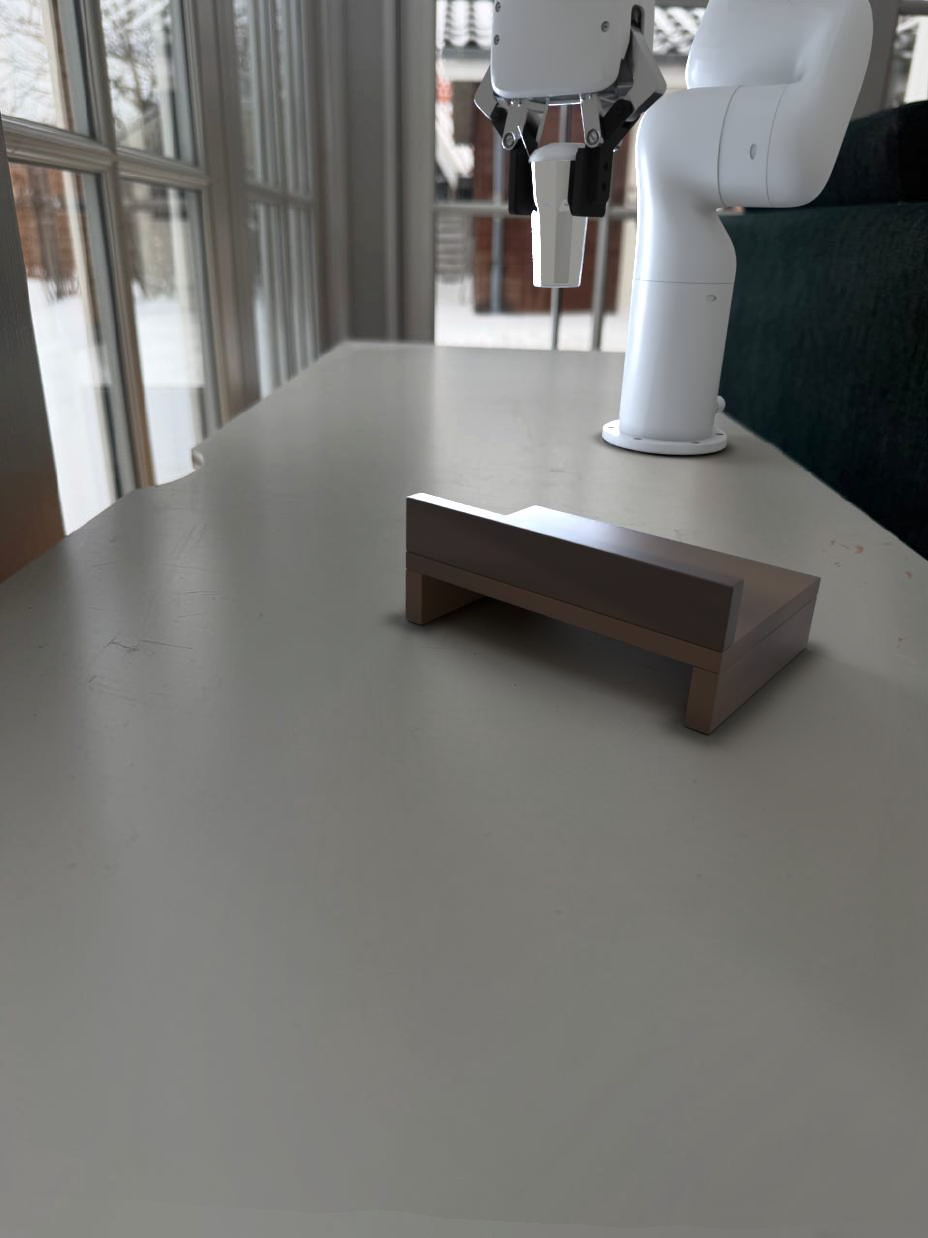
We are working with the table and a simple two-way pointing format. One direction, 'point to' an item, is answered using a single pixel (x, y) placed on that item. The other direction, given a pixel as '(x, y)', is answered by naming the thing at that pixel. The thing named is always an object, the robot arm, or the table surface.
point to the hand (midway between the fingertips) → (556, 212)
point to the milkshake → (555, 216)
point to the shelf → (616, 591)
